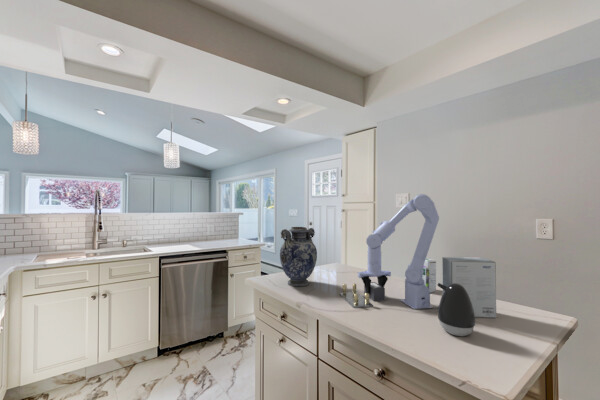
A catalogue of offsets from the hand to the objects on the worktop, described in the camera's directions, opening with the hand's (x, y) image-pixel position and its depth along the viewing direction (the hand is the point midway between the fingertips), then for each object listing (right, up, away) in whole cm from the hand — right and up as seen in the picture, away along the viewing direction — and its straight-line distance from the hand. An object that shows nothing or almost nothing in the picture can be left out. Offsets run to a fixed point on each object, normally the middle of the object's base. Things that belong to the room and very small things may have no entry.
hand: (374, 293), depth 116 cm
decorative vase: (-33, -2, +19) cm, 38 cm away
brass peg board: (-9, -1, -4) cm, 10 cm away
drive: (0, -1, 0) cm, 1 cm away
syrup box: (+27, -2, +10) cm, 29 cm away
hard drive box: (+30, -2, -16) cm, 34 cm away
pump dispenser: (+17, -2, -31) cm, 36 cm away
